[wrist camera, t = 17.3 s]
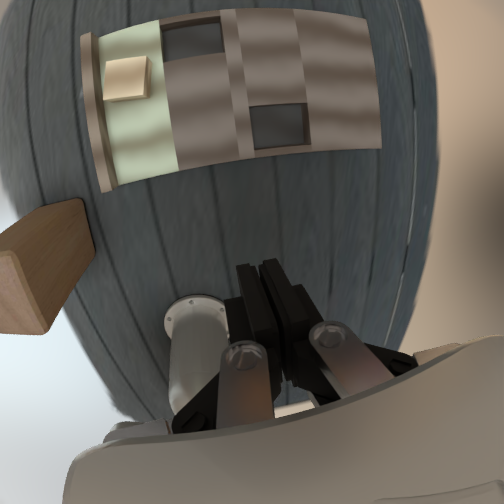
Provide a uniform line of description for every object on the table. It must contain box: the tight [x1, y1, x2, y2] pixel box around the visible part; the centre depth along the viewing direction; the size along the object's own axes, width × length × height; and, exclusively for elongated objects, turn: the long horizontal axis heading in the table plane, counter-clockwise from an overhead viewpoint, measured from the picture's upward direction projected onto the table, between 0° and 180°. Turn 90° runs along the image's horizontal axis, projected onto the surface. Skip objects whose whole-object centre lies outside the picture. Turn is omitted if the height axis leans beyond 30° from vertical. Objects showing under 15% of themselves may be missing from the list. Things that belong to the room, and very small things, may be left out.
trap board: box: [80, 8, 382, 193], centre depth 29 cm, size 22×40×6 cm, turn 97°
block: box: [0, 198, 95, 335], centre depth 27 cm, size 10×10×20 cm
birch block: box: [103, 56, 152, 103], centre depth 25 cm, size 5×5×4 cm
